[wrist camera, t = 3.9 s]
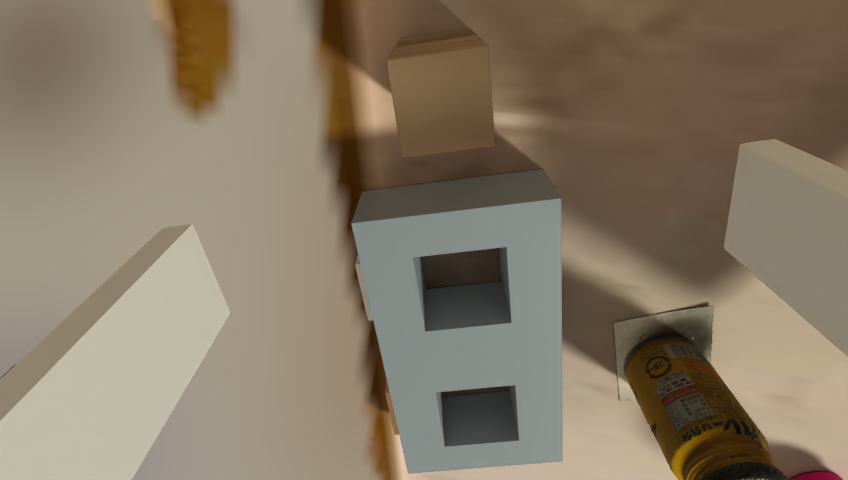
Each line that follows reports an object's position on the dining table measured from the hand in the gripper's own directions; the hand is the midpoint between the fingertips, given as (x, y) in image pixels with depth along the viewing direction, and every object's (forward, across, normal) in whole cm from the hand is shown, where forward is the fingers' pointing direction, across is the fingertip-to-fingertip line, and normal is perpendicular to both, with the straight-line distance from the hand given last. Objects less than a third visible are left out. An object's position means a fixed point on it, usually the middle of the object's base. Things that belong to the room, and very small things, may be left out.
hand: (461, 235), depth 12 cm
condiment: (+19, +15, -23) cm, 34 cm away
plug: (+19, 0, +1) cm, 19 cm away
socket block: (+19, 0, -17) cm, 26 cm away
